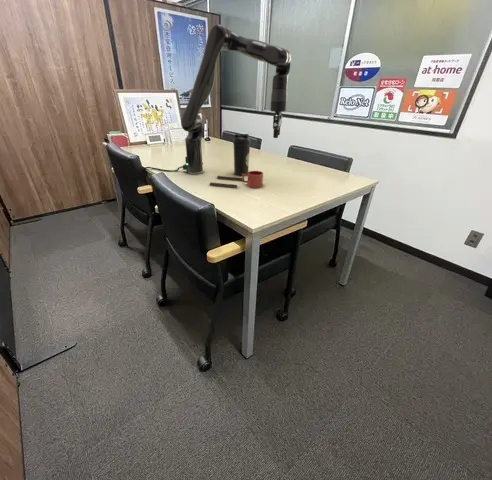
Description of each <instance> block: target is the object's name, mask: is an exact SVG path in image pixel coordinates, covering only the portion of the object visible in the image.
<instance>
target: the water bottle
mask: <svg viewBox="0 0 492 480" xmlns="http://www.w3.org/2000/svg"><path fill="white" fill-rule="evenodd" d="M249 136H250V134H249V133H243V134H239V133H235V135H234V138H233V139H232V144H233V174H234V176H236V177H242V174H248V172H249V168H250V167H249V165H250V164H249V163H250V150H251V149H250V148H251V143H252V140H251V139H250V137H249Z"/></svg>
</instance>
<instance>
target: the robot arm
mask: <svg viewBox="0 0 492 480" xmlns="http://www.w3.org/2000/svg"><path fill="white" fill-rule="evenodd" d="M221 51H224V52H225V51H227V52H236V53H239V54H242V55H245V57H248V58H251V59H253V60H256V61H259V62H263V63H266V64H268V65H271V66H273V67H275V73H274V75H273V76H272V83H271V84H272V85H271V94H270V112H274V115H273V116H272V119H273V120H272V121H273V122H272V129H273V139H278V138H279V136H280V135H281V127H282V122H283V112H286V111H287V103H288V87H289V86H288V85H289V84H288V83H289V82H288V81H289V76H290V70H291V66H292V53H291V51H289V49H286V48H283V47H280V46H276V45H272V44H270V43H268V42H265V41H262V40H258V39H254V38H249V37H244V36H242V35H239V34H238V33H236V32H234V31H232V30H231V29H229V28H228V27H226V26H224V25H222V24H220V23H214V24H213V25H212V26H211V27H210V29H209V32H208V34H207V38H206V43H205V47H204V51H203V55H202V59H201V62H200V65H199V68H198V71H197V73H196V77H195V79H194V83H193V86H192V90H191V93H190V96H189V99H188V102H187V103H186V106H185V109H184V111H183V113H182V116H181V119H180V126H181V129H183V130H184V131H185V132H187V135H186V137H185V139H184V142H185V153H186V156H185V158H184V159H185V163H184V164H183V165H181V166H178V167H177V169H174V170H172V169H171V170H170V169H163V168H158V167H151V166H145V167H144V168H143V170H147V169H151V170H157V171H160V172H161V171H162V172H169V173H171V172H172V173H173V172H178V171H179V170H180V169H182V170H185V171H186V174H190V175H200V174H203V173H204V166H203V165H204V162H203V147H202V139H203V121H202V117H201V116H200V114H199V112H200V110H201V108H202V107H203V106H204V104H205V103H206V101H207V100H208V99H209V97H210V95H211V93H212V90H213V88H214V85H215V83H216V82H215V81H216V67H217V66H216V65H217V62H218V58H219V55H220V53H221Z"/></svg>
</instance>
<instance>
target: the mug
mask: <svg viewBox="0 0 492 480" xmlns="http://www.w3.org/2000/svg"><path fill="white" fill-rule="evenodd" d="M245 177H247V180H245ZM241 178H242V181H241V182H242V183H244V184H245V183H246V185H247V187H248V188H251V189H260V188H263V185H264V172H263V171H260V170H250V171H248V174H242V176H241Z"/></svg>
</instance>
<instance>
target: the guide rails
mask: <svg viewBox="0 0 492 480" xmlns="http://www.w3.org/2000/svg"><path fill="white" fill-rule="evenodd" d="M216 179H217V180H227V181H235V182H236V181H237V182H242V177H239V176H236V177H235V176H227V175H226V176H225V175H217V177H216ZM209 186H211V187H219V188H220V187H221V188H230V189H238V184H232V183H222V182H212V181H211V182H209Z"/></svg>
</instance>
